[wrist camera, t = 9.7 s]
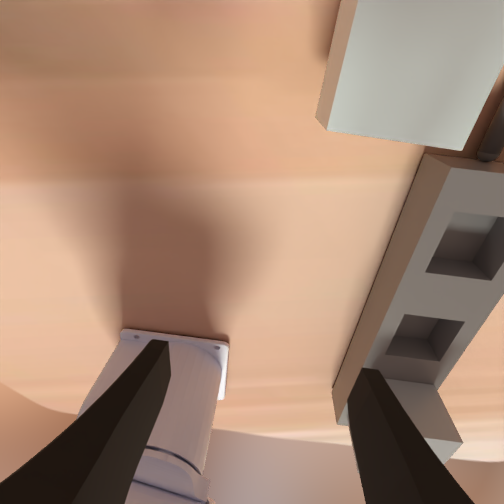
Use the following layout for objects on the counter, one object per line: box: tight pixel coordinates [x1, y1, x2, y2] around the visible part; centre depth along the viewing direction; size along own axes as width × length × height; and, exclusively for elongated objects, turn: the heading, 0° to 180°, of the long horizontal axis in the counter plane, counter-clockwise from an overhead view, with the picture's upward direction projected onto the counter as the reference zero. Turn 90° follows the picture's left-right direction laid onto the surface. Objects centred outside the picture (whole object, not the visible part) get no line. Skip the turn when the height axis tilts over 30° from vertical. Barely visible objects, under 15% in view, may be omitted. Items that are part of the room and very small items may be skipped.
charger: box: [315, 0, 504, 151], centre depth 12 cm, size 5×5×6 cm
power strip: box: [332, 97, 504, 473], centre depth 17 cm, size 6×31×7 cm, turn 174°
